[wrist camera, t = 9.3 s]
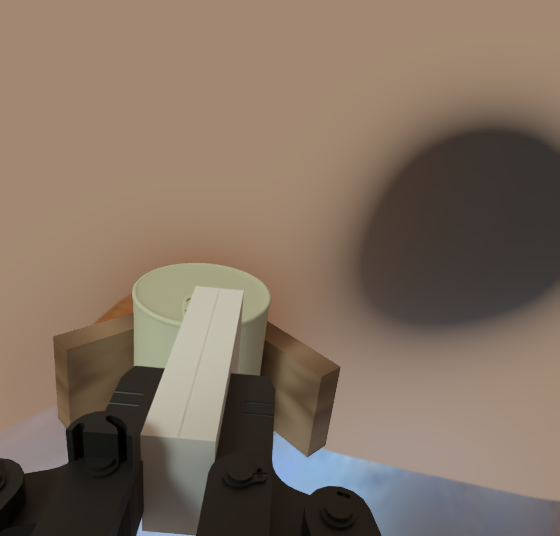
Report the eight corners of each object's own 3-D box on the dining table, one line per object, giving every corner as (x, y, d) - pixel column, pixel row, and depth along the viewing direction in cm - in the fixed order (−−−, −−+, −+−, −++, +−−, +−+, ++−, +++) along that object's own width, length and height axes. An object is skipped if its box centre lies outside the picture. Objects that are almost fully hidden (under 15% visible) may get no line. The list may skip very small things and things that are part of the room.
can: (112, 464, 36) (111, 308, 31) (149, 382, 45) (152, 249, 40) (248, 481, 36) (268, 328, 31) (260, 396, 45) (276, 265, 40)
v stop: (326, 458, 39) (342, 378, 36) (50, 431, 38) (44, 347, 35) (318, 368, 49) (330, 301, 46) (101, 346, 49) (99, 276, 46)
